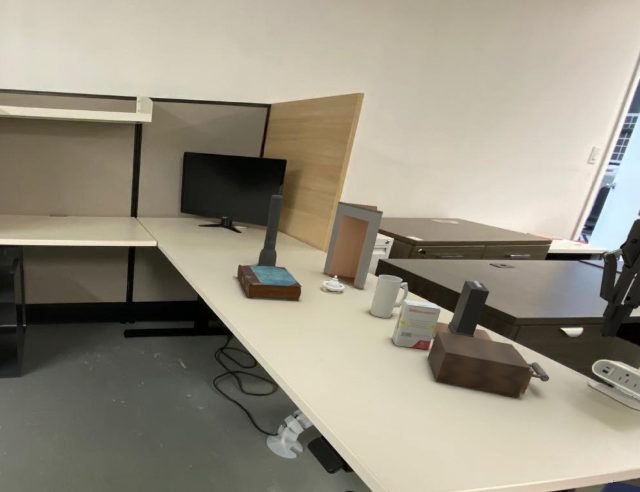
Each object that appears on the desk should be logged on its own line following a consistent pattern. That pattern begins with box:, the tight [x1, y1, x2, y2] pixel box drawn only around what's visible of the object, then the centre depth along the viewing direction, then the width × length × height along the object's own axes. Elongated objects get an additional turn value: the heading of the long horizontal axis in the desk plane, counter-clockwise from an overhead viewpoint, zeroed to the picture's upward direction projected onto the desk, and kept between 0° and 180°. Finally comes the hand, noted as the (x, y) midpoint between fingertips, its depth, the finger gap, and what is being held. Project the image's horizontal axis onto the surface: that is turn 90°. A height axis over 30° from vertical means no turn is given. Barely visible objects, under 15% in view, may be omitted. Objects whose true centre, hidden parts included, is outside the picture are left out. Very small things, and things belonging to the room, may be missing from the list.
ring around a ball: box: [321, 275, 346, 293], centre depth 166 cm, size 8×6×8 cm
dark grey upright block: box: [448, 280, 490, 337], centre depth 133 cm, size 5×9×15 cm, turn 161°
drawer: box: [516, 349, 550, 395], centre depth 109 cm, size 20×12×6 cm, turn 71°
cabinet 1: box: [322, 201, 384, 290], centre depth 175 cm, size 21×10×28 cm, turn 23°
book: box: [236, 264, 303, 302], centre depth 162 cm, size 23×18×5 cm
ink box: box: [391, 299, 442, 350], centre depth 125 cm, size 9×5×12 cm, turn 78°
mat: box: [432, 321, 493, 341], centre depth 136 cm, size 16×14×1 cm
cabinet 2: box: [427, 331, 530, 399], centre depth 110 cm, size 17×14×8 cm
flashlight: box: [257, 194, 284, 267], centre depth 185 cm, size 7×28×7 cm
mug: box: [369, 274, 409, 319], centre depth 145 cm, size 10×7×12 cm, turn 89°
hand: (606, 334), depth 98 cm, fingers closed
